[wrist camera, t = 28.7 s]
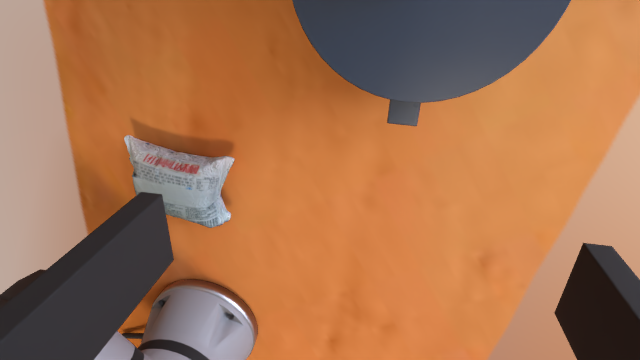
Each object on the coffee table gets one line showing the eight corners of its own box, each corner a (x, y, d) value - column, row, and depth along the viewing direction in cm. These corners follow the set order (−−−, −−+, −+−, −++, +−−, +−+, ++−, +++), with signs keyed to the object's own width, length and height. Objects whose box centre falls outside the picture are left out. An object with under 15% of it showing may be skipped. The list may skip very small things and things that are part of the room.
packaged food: (139, 127, 44) (111, 144, 40) (240, 150, 43) (223, 171, 39) (144, 192, 48) (119, 214, 44) (236, 215, 47) (220, 239, 43)
